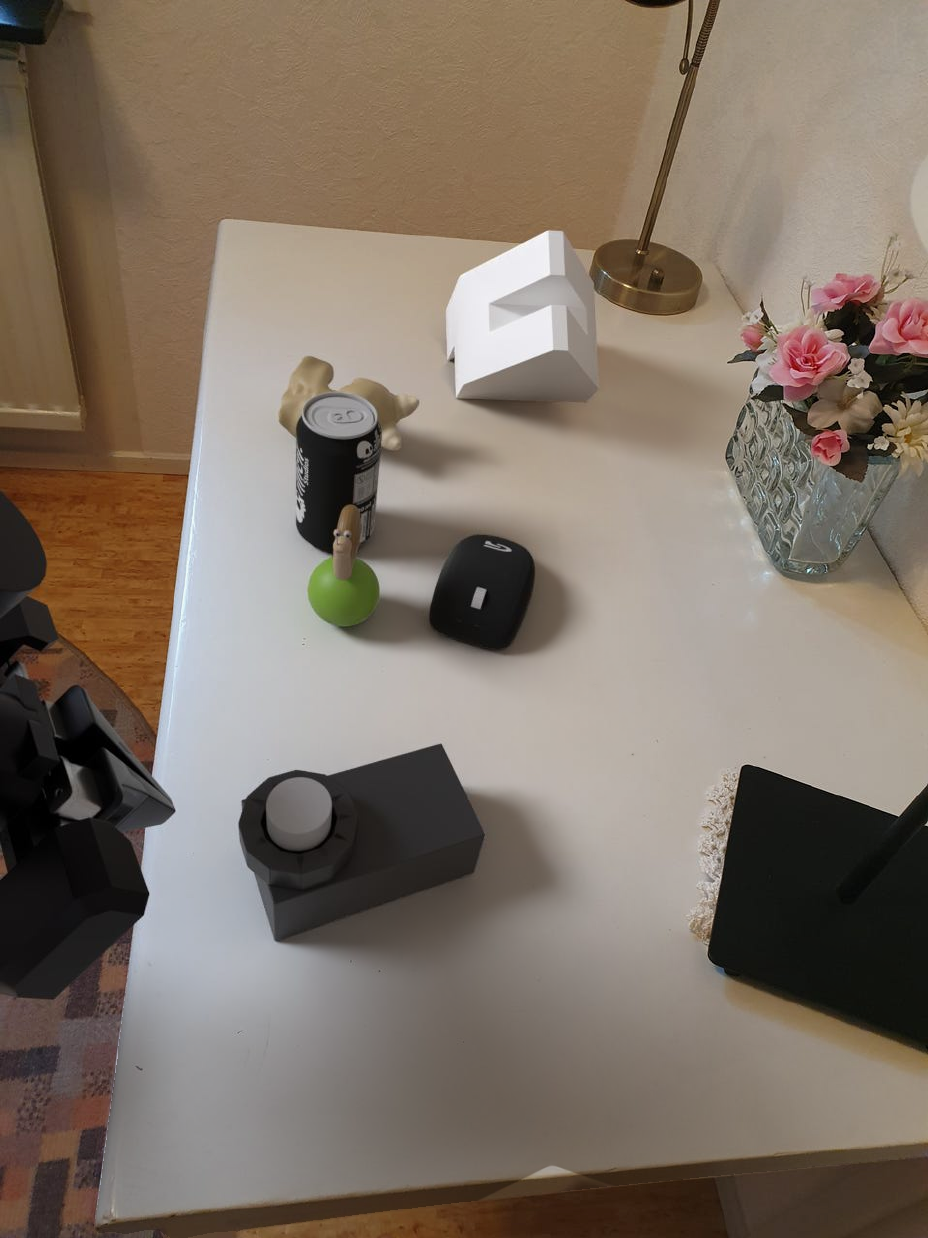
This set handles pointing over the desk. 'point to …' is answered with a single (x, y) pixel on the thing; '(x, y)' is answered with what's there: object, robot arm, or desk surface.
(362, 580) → the snail figurine
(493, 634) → the computer mouse
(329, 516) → the beverage can
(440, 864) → the push button base
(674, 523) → the desk surface
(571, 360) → the slotted wedge
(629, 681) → the desk surface
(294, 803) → the gray round disc
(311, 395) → the dinosaur figurine
